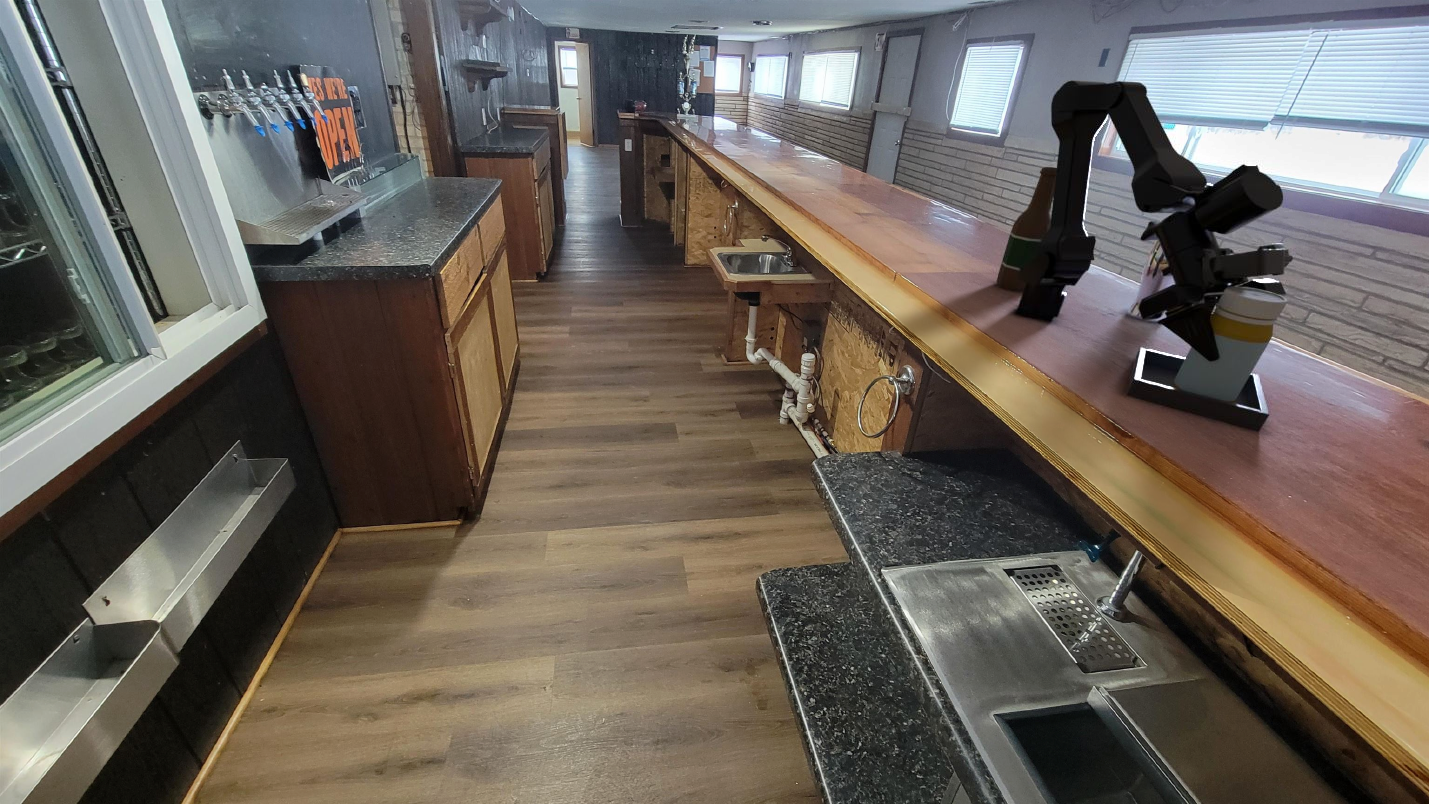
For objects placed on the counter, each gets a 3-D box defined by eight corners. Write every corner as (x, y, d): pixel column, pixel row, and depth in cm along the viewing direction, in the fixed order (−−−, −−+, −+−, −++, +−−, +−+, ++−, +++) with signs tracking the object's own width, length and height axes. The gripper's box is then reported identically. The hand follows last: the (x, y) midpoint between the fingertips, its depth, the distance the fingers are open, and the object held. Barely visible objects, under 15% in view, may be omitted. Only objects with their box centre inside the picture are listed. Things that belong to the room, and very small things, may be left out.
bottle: (1219, 390, 81) (1275, 289, 73) (1240, 413, 75) (1304, 307, 68) (1163, 381, 83) (1212, 282, 75) (1180, 403, 77) (1235, 298, 69)
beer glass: (1153, 311, 111) (1188, 234, 104) (1175, 324, 105) (1213, 244, 98) (1117, 309, 112) (1149, 232, 104) (1136, 321, 106) (1171, 241, 98)
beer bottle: (1036, 285, 123) (1075, 168, 111) (1032, 295, 117) (1073, 172, 105) (998, 278, 127) (1032, 164, 115) (992, 287, 121) (1027, 167, 109)
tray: (1126, 395, 79) (1133, 379, 78) (1133, 361, 90) (1140, 347, 89) (1259, 431, 72) (1269, 414, 71) (1250, 390, 82) (1259, 375, 81)
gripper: (1201, 221, 68) (1250, 341, 64) (1309, 218, 73) (1360, 330, 69) (1119, 266, 79) (1157, 371, 75) (1218, 261, 83) (1258, 360, 80)
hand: (1233, 358), depth 74 cm, fingers closed on bottle, 6 cm apart
